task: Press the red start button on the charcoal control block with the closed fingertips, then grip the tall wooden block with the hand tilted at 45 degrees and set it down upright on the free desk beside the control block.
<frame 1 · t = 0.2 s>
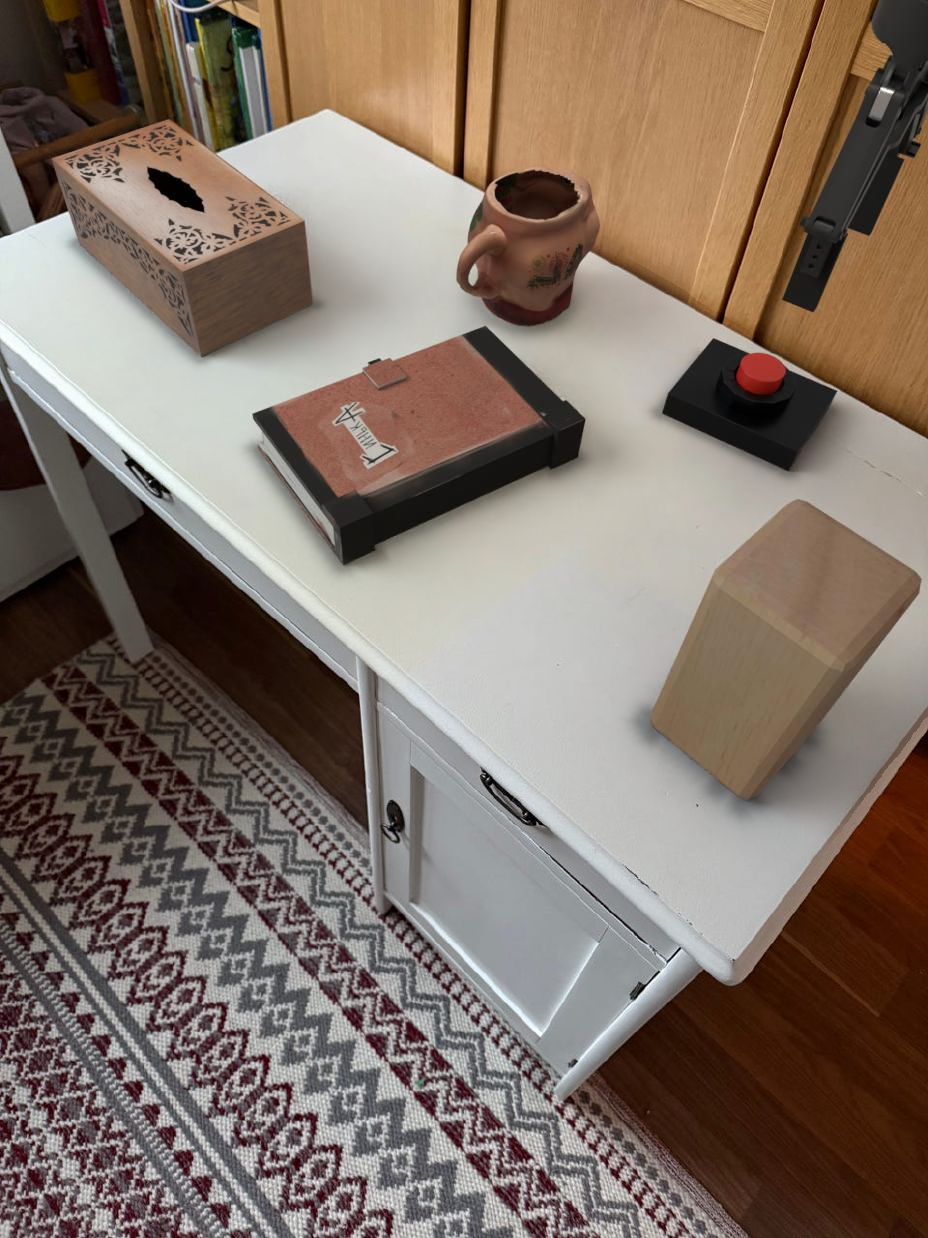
hand: (828, 265, 77), 19 cm above the table, tool pointing down, fingers open, 13 cm apart
control block: (745, 411, 94), on the table
book: (417, 452, 89), on the table
wooden block: (728, 727, 73), on the table
start button: (760, 373, 90), point 5 cm above the table, slide at 0.1 cm
terracotta mug: (517, 311, 102), on the table
tissue box cover: (193, 274, 103), on the table
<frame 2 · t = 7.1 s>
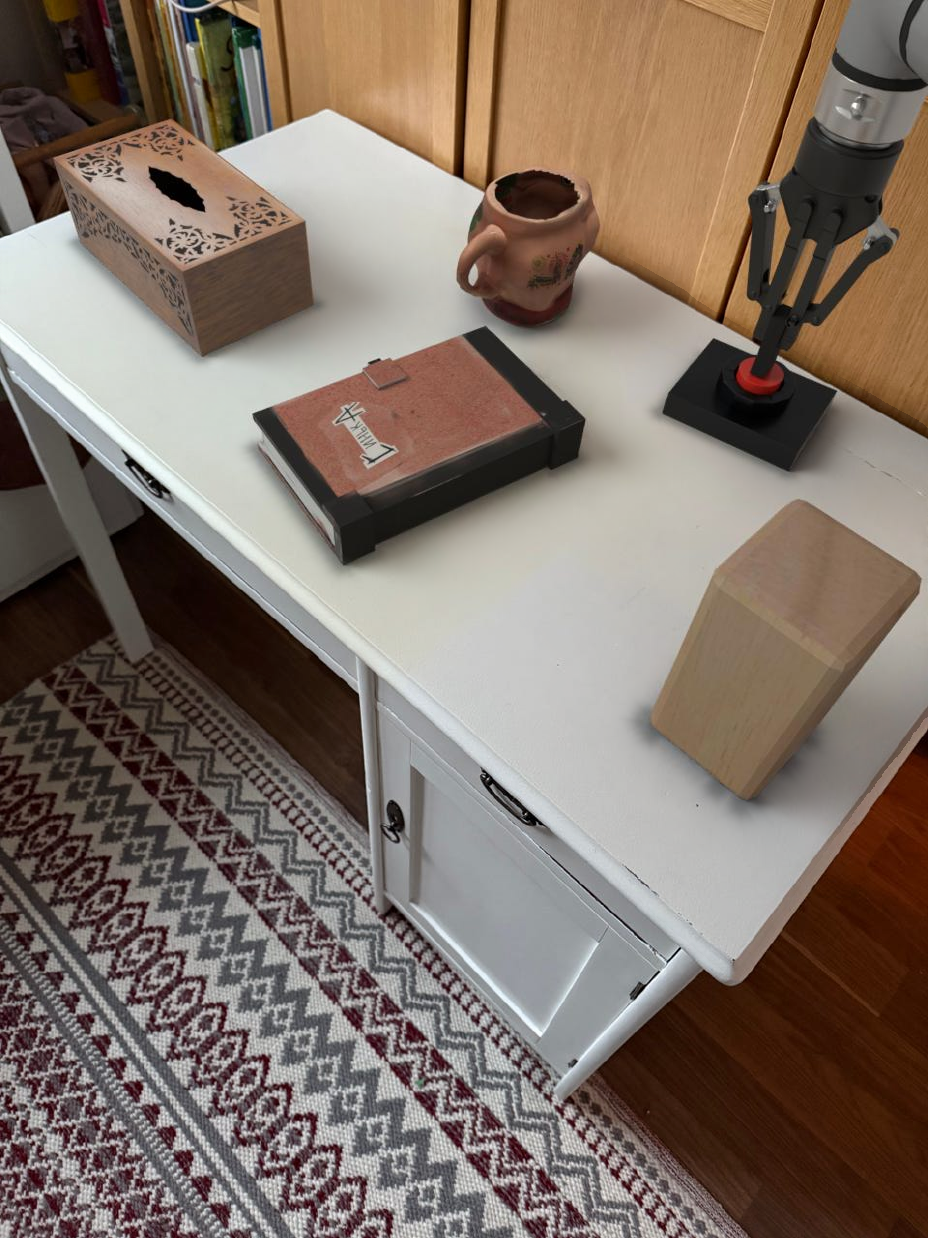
hand: (761, 368, 90), 6 cm above the table, tool pointing down, fingers closed
start button: (758, 378, 91), point 4 cm above the table, slide at -0.5 cm, touching gripper
everything else where it was.
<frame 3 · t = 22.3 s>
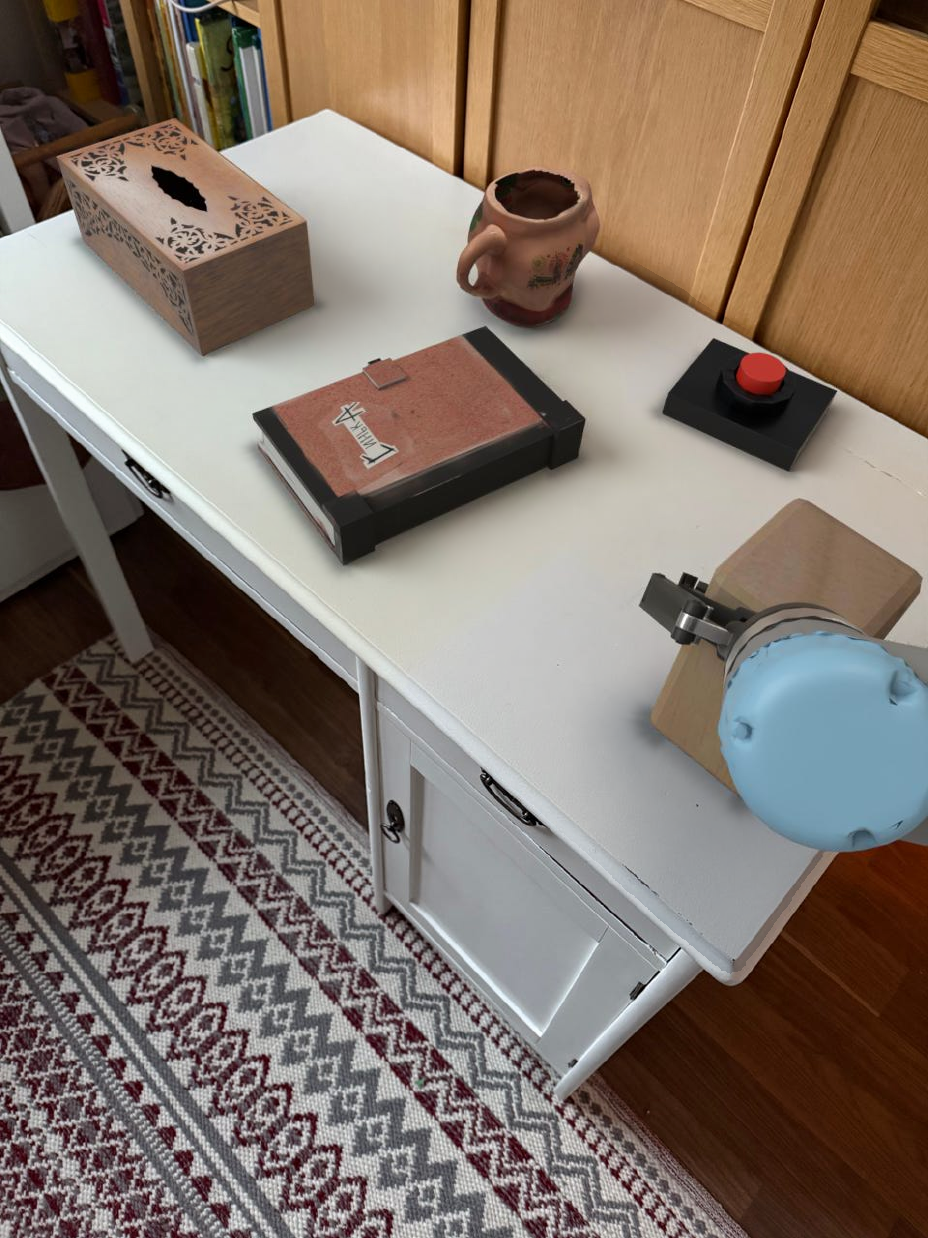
hand: (779, 632, 66), 9 cm above the table, tool tilted 45°, fingers closed on wooden block, 12 cm apart
wooden block: (728, 727, 73), on the table, touching gripper
start button: (760, 373, 90), point 5 cm above the table, slide at 0.1 cm
everything else where it was.
when the fingers open (9 cm above the table, at t = 31.4 s): wooden block stays where it is, on the table.
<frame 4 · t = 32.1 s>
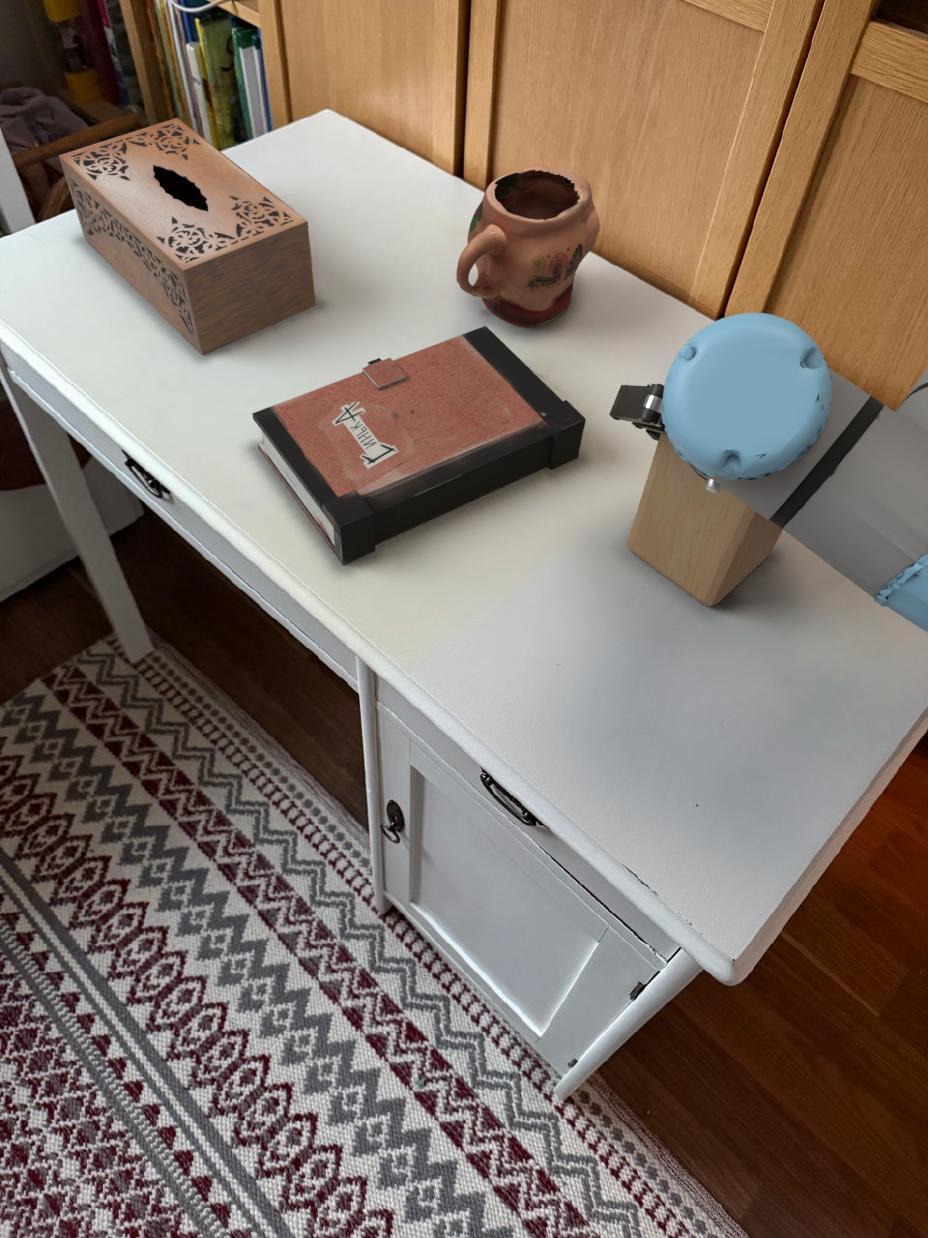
hand: (740, 453, 76), 10 cm above the table, tool tilted 45°, fingers open, 13 cm apart
wooden block: (696, 553, 83), on the table
everything else where it was.
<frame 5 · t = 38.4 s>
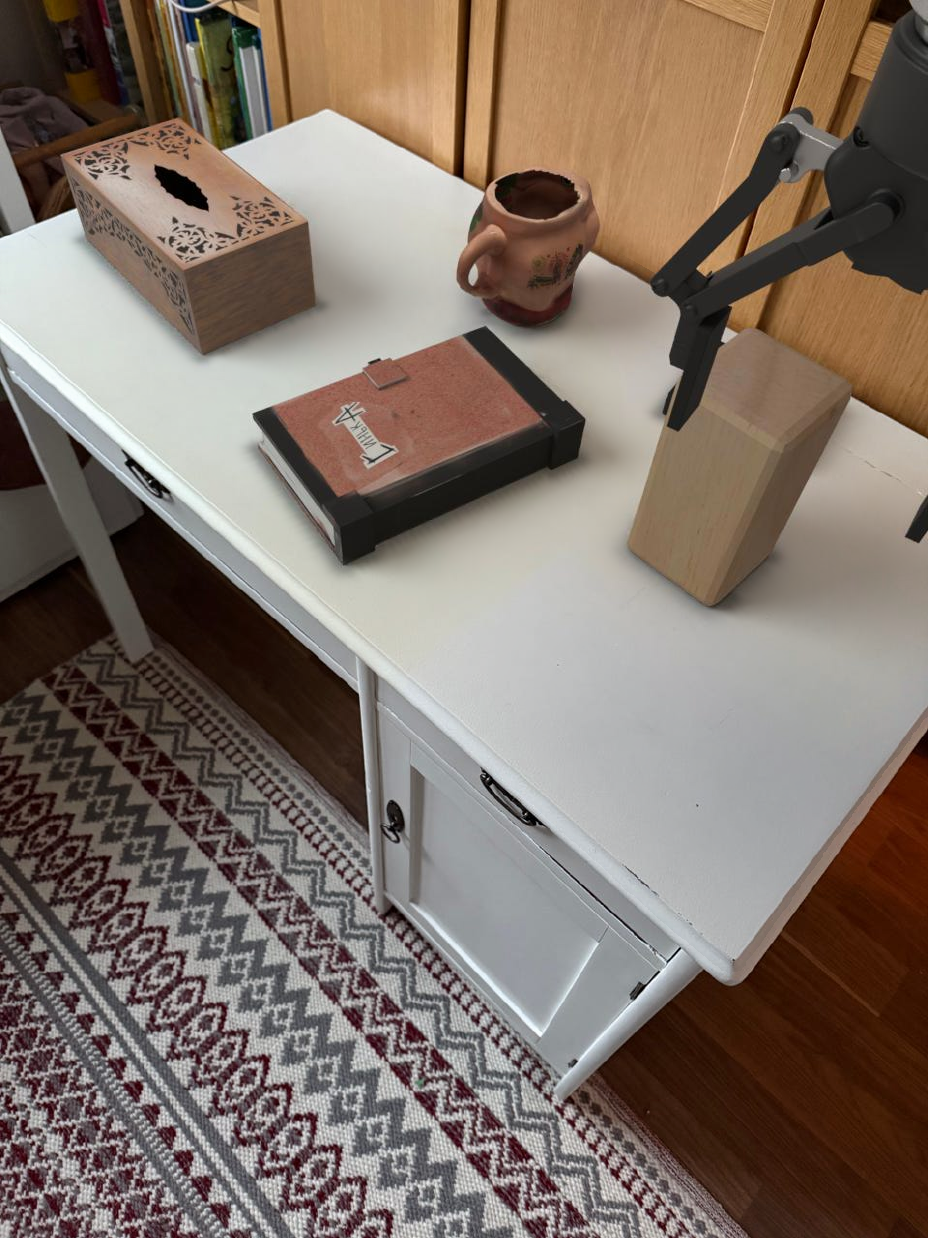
hand: (796, 468, 49), 29 cm above the table, tool pointing down, fingers open, 13 cm apart
nothing on the table moved.
at the end: start button pushed in 1.0 cm at the most during the clip, back to where it started at the end; wooden block inside the target area (0.3 cm from its centre), on the table; wooden block tilted 0° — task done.
